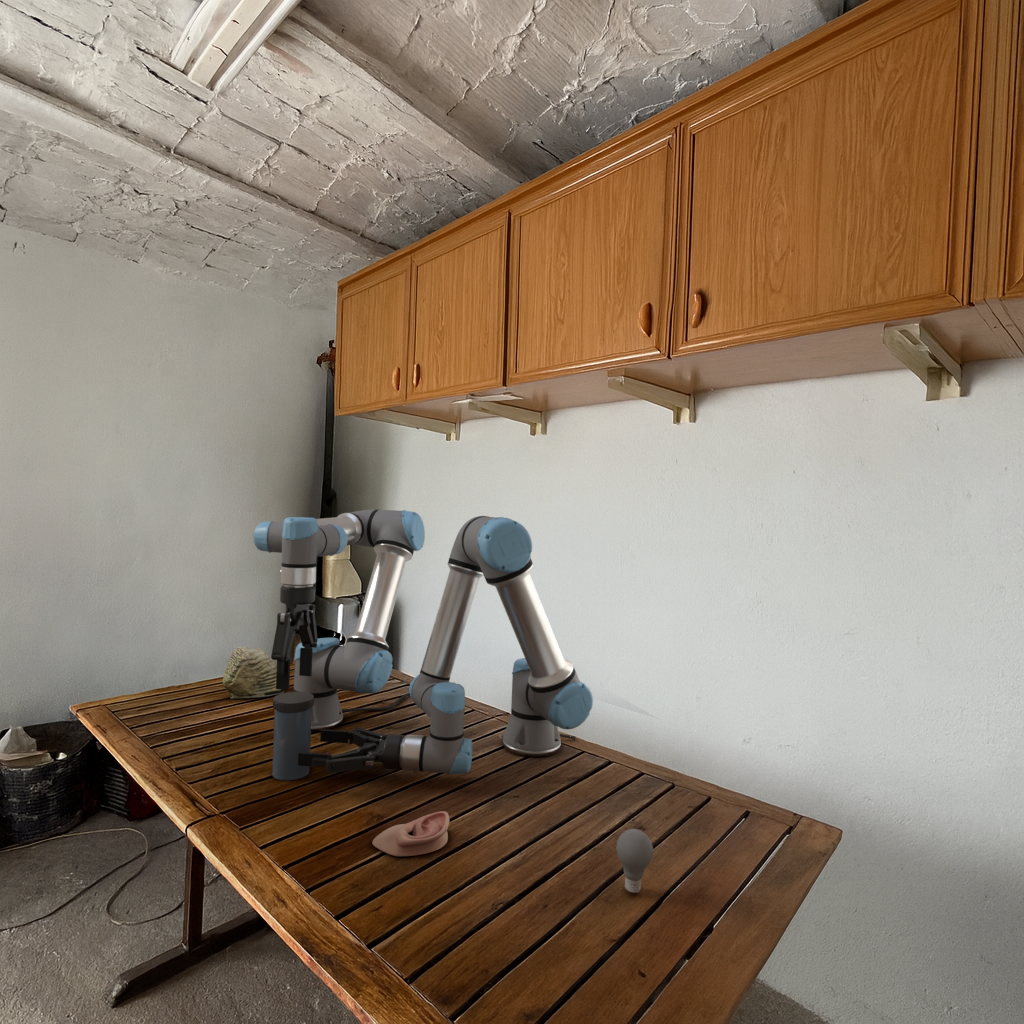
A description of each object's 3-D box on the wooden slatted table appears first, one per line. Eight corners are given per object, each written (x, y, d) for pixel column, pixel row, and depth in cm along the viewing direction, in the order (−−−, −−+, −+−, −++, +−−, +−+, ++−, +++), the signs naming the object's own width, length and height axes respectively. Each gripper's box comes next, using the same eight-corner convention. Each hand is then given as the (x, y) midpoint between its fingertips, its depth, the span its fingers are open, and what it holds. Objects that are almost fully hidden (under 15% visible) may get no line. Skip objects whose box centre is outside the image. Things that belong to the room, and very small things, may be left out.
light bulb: (610, 879, 108) (613, 822, 108) (644, 879, 109) (647, 822, 109) (619, 902, 102) (622, 840, 102) (655, 901, 103) (658, 840, 103)
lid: (286, 715, 138) (287, 706, 138) (265, 705, 144) (265, 697, 144) (321, 706, 145) (321, 697, 145) (299, 697, 151) (300, 689, 150)
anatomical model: (365, 829, 114) (390, 800, 125) (364, 851, 114) (389, 820, 125) (436, 840, 111) (455, 810, 122) (435, 863, 111) (454, 830, 122)
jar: (284, 783, 139) (287, 707, 139) (265, 772, 144) (267, 699, 144) (316, 772, 145) (319, 699, 145) (296, 762, 150) (299, 691, 150)
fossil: (218, 695, 195) (220, 647, 195) (278, 685, 208) (279, 640, 207) (228, 703, 189) (230, 653, 188) (289, 692, 201) (290, 645, 201)
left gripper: (305, 578, 156) (301, 667, 156) (255, 591, 133) (252, 695, 133) (334, 580, 155) (330, 670, 155) (289, 593, 132) (285, 698, 132)
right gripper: (388, 794, 130) (287, 787, 131) (413, 747, 155) (328, 742, 156) (390, 758, 130) (288, 751, 131) (415, 717, 155) (329, 711, 156)
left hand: (294, 682), depth 144 cm, fingers open, 10 cm apart
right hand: (310, 746), depth 143 cm, fingers open, 13 cm apart
